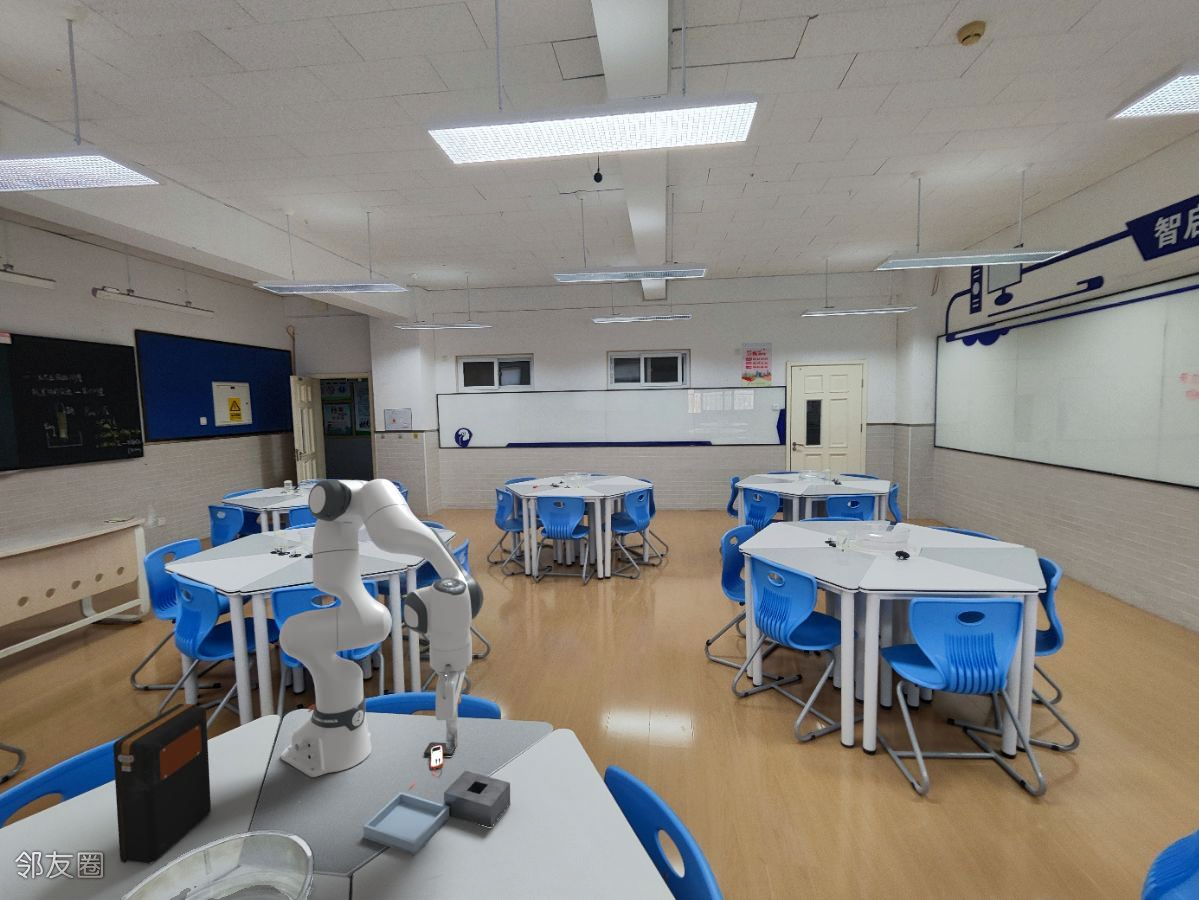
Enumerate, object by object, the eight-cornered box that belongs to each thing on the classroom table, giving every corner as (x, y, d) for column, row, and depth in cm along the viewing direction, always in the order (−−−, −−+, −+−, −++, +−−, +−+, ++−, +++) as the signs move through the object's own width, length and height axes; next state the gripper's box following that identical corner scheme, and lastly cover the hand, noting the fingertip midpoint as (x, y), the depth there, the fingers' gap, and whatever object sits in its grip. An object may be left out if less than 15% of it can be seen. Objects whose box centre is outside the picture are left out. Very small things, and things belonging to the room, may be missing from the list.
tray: (363, 837, 114) (363, 826, 114) (401, 802, 125) (400, 791, 125) (414, 855, 110) (414, 843, 109) (449, 817, 120) (449, 806, 120)
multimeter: (446, 796, 127) (445, 782, 127) (397, 791, 129) (397, 777, 129) (474, 750, 145) (474, 738, 145) (431, 746, 147) (431, 734, 146)
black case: (183, 808, 123) (177, 700, 121) (217, 811, 122) (212, 703, 120) (113, 865, 107) (105, 742, 106) (152, 869, 106) (145, 745, 105)
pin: (440, 743, 120) (440, 694, 120) (457, 738, 123) (457, 690, 122) (446, 753, 117) (446, 702, 116) (463, 747, 119) (463, 697, 119)
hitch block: (444, 814, 121) (443, 792, 121) (465, 790, 128) (465, 770, 128) (491, 828, 117) (490, 806, 116) (510, 803, 124) (510, 782, 124)
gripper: (459, 678, 108) (460, 744, 110) (470, 635, 129) (471, 691, 130) (427, 679, 108) (428, 746, 109) (443, 636, 128) (444, 693, 129)
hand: (451, 716), depth 119 cm, fingers closed on pin, 2 cm apart
